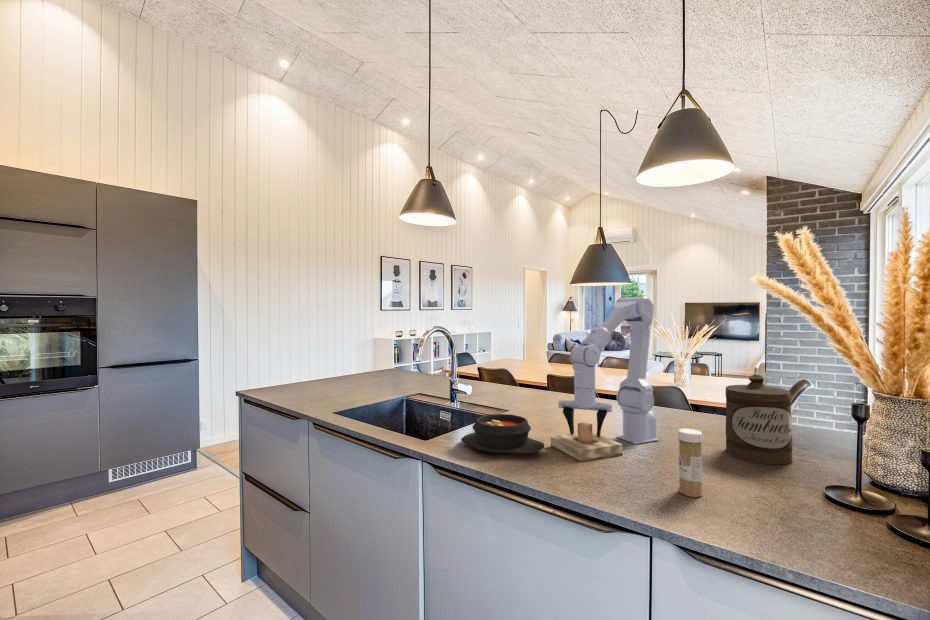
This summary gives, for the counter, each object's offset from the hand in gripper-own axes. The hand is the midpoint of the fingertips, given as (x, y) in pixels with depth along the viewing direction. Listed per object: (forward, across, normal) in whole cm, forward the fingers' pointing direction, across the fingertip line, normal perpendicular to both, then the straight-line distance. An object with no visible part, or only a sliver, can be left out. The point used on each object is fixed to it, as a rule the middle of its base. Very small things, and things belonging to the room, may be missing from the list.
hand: (585, 435), depth 118 cm
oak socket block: (+4, 0, 0) cm, 4 cm away
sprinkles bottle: (+5, +25, -20) cm, 33 cm away
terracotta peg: (+4, 0, 0) cm, 4 cm away
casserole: (+5, -23, -7) cm, 24 cm away
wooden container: (+5, +44, +14) cm, 46 cm away
